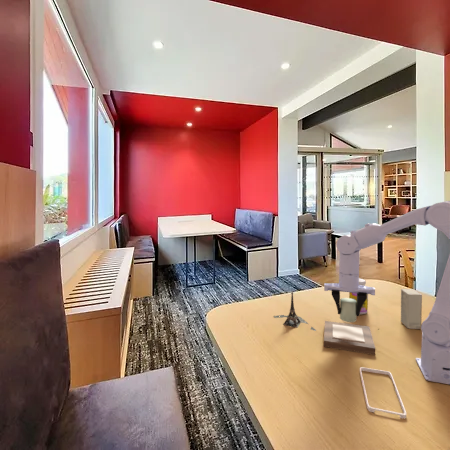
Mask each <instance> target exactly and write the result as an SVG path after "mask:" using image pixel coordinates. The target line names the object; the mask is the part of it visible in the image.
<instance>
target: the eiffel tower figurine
mask: <svg viewBox="0 0 450 450" xmlns="http://www.w3.org/2000/svg"><path fill="white" fill-rule="evenodd" d="M290 295H291V301H290V308H289V313H288V315H284V314H281V315H273V317H274V319H277V318H280V319H281V318H286V319H285V320H284V322H283V323H282V325H283V326H287V327H291V328H295V329H297V328H298V327H299V326H300V325H301V323H302V324H307V325H309V323H308V322H307V321H306V320H305V319H304V318H302V317H301V316H298V314H297V313H296V311H295V310H296V309H295V306H294V305H295V303H294V292H293V291H291V294H290ZM279 316H280V317H279ZM310 330H311V331H314V332H315V331H316V332H317V329H315V328H314V326H311V328H310Z"/></svg>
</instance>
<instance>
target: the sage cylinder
mask: <svg viewBox="0 0 450 450" xmlns="http://www.w3.org/2000/svg"><path fill="white" fill-rule="evenodd" d="M356 313H357V301H356V300H354V299H351V298H349V297H343V298H340V314H339V319H340V320H341V321H343V322H346V323H355V322H357V315H356Z"/></svg>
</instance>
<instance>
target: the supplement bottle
mask: <svg viewBox="0 0 450 450" xmlns="http://www.w3.org/2000/svg"><path fill="white" fill-rule="evenodd" d="M366 283H367V282H366V280H365V279H364V278H360V277H359V285H362V286H366ZM348 293H349V294H348V295H349V297H348V298H351V299H354V300H356V301H357V293H351V292H348ZM368 305H369V294H367V299H366V301H365V302H364V304H363V306H362V308H361V310H360V314H359V315H365V314H367V313H368V308H369V306H368Z"/></svg>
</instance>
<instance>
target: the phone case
mask: <svg viewBox="0 0 450 450" xmlns="http://www.w3.org/2000/svg"><path fill="white" fill-rule="evenodd" d="M362 371H363V372H370V373H374V374H381V375H388V377H389V378H390V379H391V381H392V383H393V386H394V391H395V393H396V397H397V399H398V401H399V405H400V407H401V409H402V412H403V413H402V412H397V411H393V410H387V409H382V408H377V407H372V406H371V405H370V404H369V401H368V395H367V391H366V390H367V389H366V386H365V381H364V378H363V373H362ZM359 376H360V379H361V384H362V385H361V386H362V389H363V394H364V395H363V396H364V399H365V403H366V408H367V410H368V412H369V413H374V412H375V411H377V412H381V413H382V412H383V413H386V414H392V415H397V416H399V418H400V419H403V418H404V419H403V420H406V419H407V411H406V408H405V406H404V403H403V400H402V398H401V394H400V393H399V390H398V387H397V384H396V382H395V379H394V377H393V374H392V373H391V371H387V370H383V369H382V370H381V369H375V368H370V367H369V368H368V367H363V366H361V367H359ZM405 418H406V419H405Z"/></svg>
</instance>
